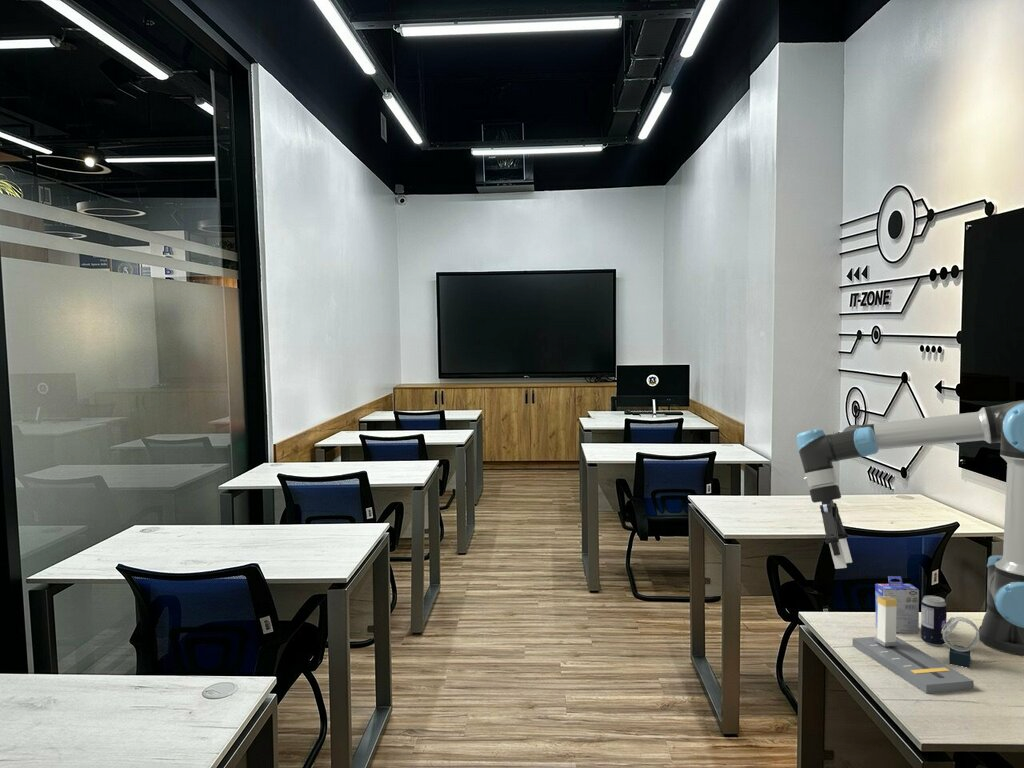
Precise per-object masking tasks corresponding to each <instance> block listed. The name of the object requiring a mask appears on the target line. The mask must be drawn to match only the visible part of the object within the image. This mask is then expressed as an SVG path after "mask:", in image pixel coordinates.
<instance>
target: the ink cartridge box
mask: <svg viewBox="0 0 1024 768" xmlns="http://www.w3.org/2000/svg"><path fill="white" fill-rule="evenodd" d="M887 579H888V583H875V584H874V589H875V591H874V594H875V595H874V596H875V627H876V628H877V622H878V596H890V597H892V598H894V599H896V600H897V606H896V633H900V634H901V633H907V634H908V633H909V634H911V633H912V634H914V633H915V634H918V633H920V631H919V630H920V629H919V627H920V626H919V625H920V623H919V621H920V619H919V618H920V609H919V607H920V606H919V605H920V590H919V588H917V587H915V586H914V585H913V584H911V583H903V579H902V576H901V575H900V576H899V575H898V576H895V575H894V576H893V575H891V576H890V575H888V576H887ZM895 579H896V580H899V581H892V580H895Z"/></svg>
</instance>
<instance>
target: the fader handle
mask: <svg viewBox="0 0 1024 768" xmlns="http://www.w3.org/2000/svg"><path fill="white" fill-rule="evenodd" d="M896 606H897V600H896V599H894V598H892V597H890V596H878V622H877V627H876V628H877V630H876V632H877V633H876V636H873V637H874V640H875V641H877V642H878V643H880V644H881V645H883V646H898V645H899V642H898V641H896V637H897V632H896Z"/></svg>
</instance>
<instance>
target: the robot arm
mask: <svg viewBox="0 0 1024 768" xmlns="http://www.w3.org/2000/svg"><path fill="white" fill-rule="evenodd" d="M795 440H796V443H797V448H798V449H797V451H798V453H799V456H800V457H799V458H800V461H801V464H802V468H803V472H804V474H805V476H804V477H803V481H806V482H807V483H806V484H807V485H808V487H809V488H811V489H809V495H810V498H811V501H812V503H814V504H815V503H820V502H821V505H819V509H820V513H821V516H822V523H823V526H824V527H823V528H824V534H825V540H824V543H825V544H828V545H829V549H830V553H831V558H832V561H833V564H834V569H836V570H837V569H838V570H839V569H846V568H848V566H847V564H852V563H853V559H852V555H851V551H850V547H849V544H848V541H847V538H849V533H847V532H846V530H845V528H844V525H843V522H842V519H841V515H840V513H839V507H838V505H837V503H836V502H834V500H839V499H841V497H842V495H841V494H842V493H841V490H840V486H839V485H838V484H836V483H838V478H837V475H836V471H835V468H834V465H833V462H835V463H836V462H839V461H845V460H849V459H850V460H851V459H855V458H861V457H862V458H863V457H864V458H865V457H868V456H870V455H876V454H877V453H878V452H879V451H880V450H881V451H882V450H889V449H892V450H893V449H902V448H903V449H904V448H913V447H923V446H935V445H945V444H956V443H967V442H968V443H969V442H978V441H980V442H981V441H985V442H986V443H988V444H997V443H998V444H999V443H1000V452H999V455H1000V457H1001V458H1002V459H1003V460H1004V461H1005V462H1006V463H1007V464H1006V467H1007V468H1006V485H1005V502H1004V503H1005V506H1004V507H1005V508H1004V526H1003V543H1002V544H1003V547H1002V555H1001V554H1000V555H998V554H997V555H990V556H989V557H988V558H987V564H986V568H987V584H986V585H987V587H986V588H987V590H986V612H985V614H984V616H983V619H982V621H981V624H980V625H979V627H978V631H979V636H980V638H979V641H980V642H981V643H982V644H983V645H986V646H988V647H990V648H992V649H995V650H997V651H1000V652H1005V653H1008V654H1014V655H1019V656H1024V399H1022V400H1017V401H1012V402H1008V403H1003V404H1002V403H1001V404H997V405H992V406H985V407H981V408H980V409H979V410H978V411H975V412H973V411H972V412H965V413H956V414H946V415H938V416H930V417H922V418H920V417H919V418H913V419H912V418H911V419H902V420H901V419H900V420H893V421H885V422H876V423H875V422H874V423H868V424H851V425H848V426H846V427H845V428H843V430H842V431H840V432H836V433H831V434H826V433H825V431H824V429H820V428H819V429H818V428H817V429H812V430H807V431H802V432H800V433H798V434H797V436H796V439H795Z"/></svg>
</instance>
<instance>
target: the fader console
mask: <svg viewBox="0 0 1024 768" xmlns="http://www.w3.org/2000/svg"><path fill="white" fill-rule="evenodd" d="M874 637H875V636H867V637H865V636H863V637H853V638H852V647H854V648H855V649H857V650H858V651H860V652H862V653H863V654H865V655H866V656H867V657H869V658H871V659H872V660H874V661H876V662H877V663H879V664H880V665H881V666H883V667H884V666H885V667H884V668H886V669H887V668H888V669H887V670H889V671H891V673H892V672H893V673H894V674H895V675H897V676H898V677H900V678H902V679H903V680H904V681H906V682H907V683H909V684H911V685H912V686H914V687H916V688H917V689H918V690H920V691H922V692H923V693H925V694H936V693H937V694H939V693H948V692H957V691H958V692H959V691H970V690H974V686H975V685H974V680H973V679H971V678H969V677H968V676H966V675H964V674H962V673H961V672H959V671H958V670H956V669H953V668H952V667H951V666H948V665H947V664H946V663H943V662H942V661H940V660H938V659H937V658H935V657H933V656H931V655H929V654H927V653H926V652H924V651H922V650H920V649H919V648H917V647H915V646H914V645H912V644H911V643H908V642H907V641H905V640H903V639H901V638H900V637H898V636H896V641H898V642H899V645H898V646H883V645H881V644H880V643H878V642H877V641H875V640H874Z"/></svg>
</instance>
